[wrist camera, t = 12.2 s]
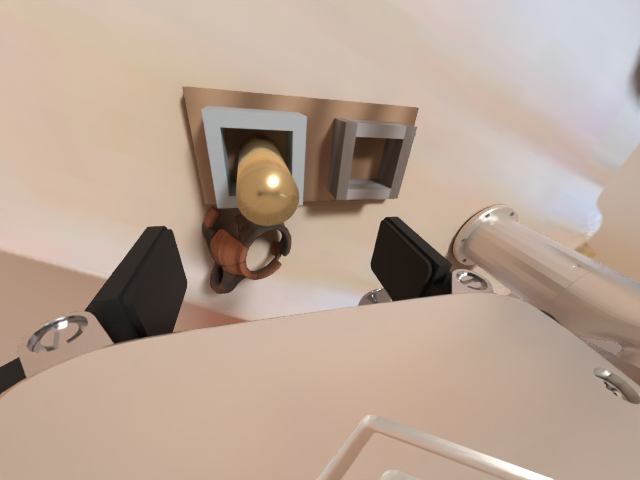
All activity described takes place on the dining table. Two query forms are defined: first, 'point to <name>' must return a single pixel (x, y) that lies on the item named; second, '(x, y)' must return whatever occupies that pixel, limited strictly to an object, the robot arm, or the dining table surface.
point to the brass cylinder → (264, 183)
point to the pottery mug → (239, 251)
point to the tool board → (318, 142)
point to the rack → (251, 119)
